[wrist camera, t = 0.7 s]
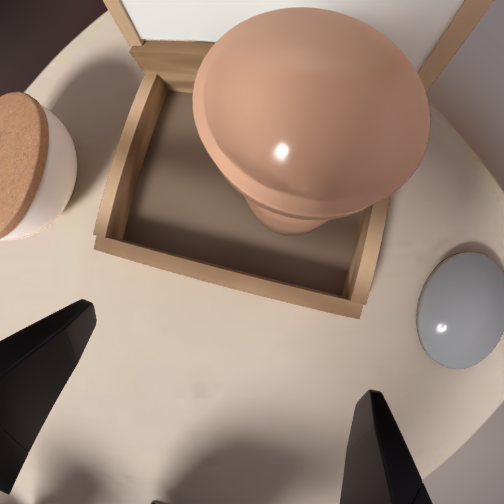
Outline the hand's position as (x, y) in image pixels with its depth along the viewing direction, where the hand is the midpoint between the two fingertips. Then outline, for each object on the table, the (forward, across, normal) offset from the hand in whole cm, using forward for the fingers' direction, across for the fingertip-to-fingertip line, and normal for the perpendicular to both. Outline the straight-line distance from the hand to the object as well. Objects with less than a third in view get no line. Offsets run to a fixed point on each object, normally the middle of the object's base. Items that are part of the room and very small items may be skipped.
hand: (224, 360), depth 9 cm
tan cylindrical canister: (+15, 0, +1) cm, 15 cm away
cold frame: (+15, +2, +1) cm, 15 cm away
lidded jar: (+13, +19, +4) cm, 24 cm away
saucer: (+12, -16, +4) cm, 21 cm away
